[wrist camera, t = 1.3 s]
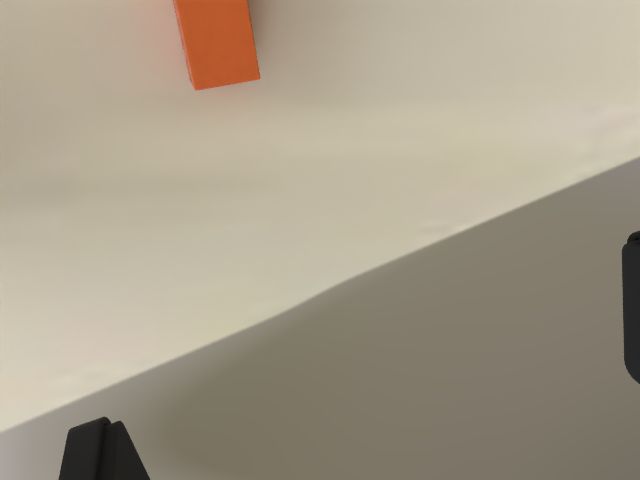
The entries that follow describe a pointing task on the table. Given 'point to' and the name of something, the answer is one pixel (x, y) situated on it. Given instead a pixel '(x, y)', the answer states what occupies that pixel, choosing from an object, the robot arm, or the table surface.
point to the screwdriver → (217, 42)
